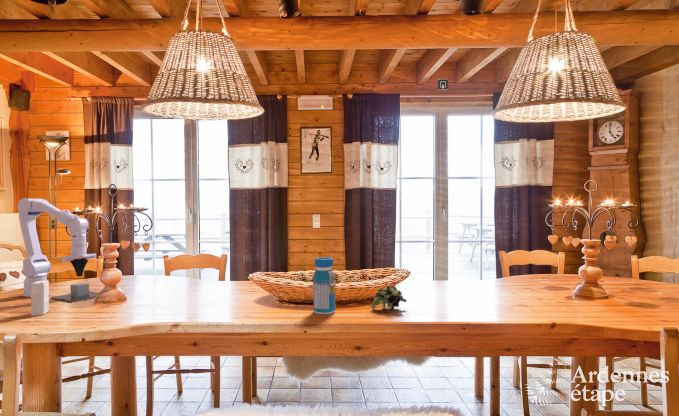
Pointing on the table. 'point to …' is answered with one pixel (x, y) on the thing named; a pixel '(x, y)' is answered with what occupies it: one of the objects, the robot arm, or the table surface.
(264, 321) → the table surface
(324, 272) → the beverage bottle
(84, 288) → the grey cube
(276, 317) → the table surface
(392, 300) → the green leafy plant
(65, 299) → the dark grey flat block
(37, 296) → the skincare box
